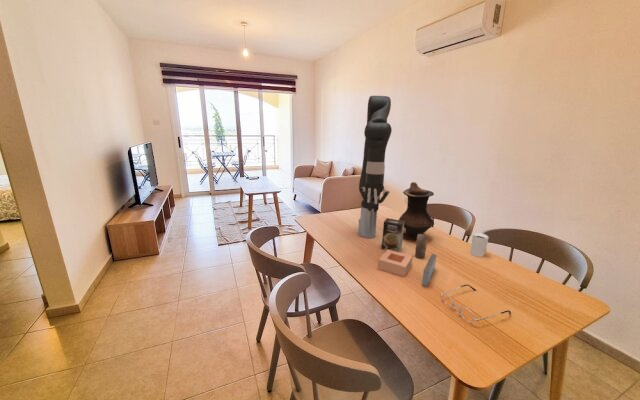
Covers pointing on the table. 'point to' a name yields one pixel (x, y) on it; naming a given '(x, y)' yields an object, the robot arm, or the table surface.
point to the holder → (395, 262)
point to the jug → (416, 212)
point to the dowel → (421, 246)
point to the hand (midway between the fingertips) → (372, 210)
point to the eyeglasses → (465, 307)
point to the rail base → (429, 270)
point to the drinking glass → (479, 244)
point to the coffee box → (392, 234)
